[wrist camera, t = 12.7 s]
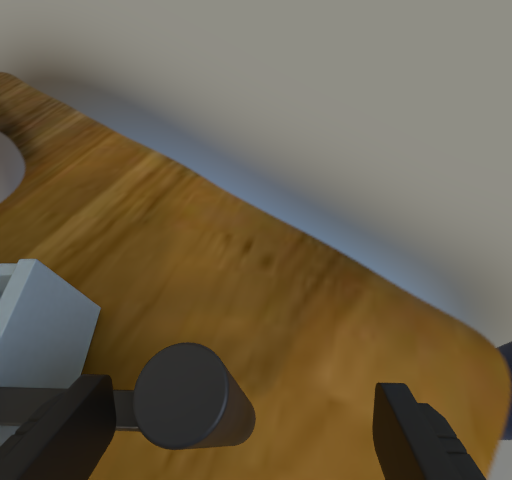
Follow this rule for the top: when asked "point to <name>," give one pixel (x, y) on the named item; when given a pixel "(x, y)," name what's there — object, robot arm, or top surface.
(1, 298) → the drawer
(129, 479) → the top surface
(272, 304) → the top surface
